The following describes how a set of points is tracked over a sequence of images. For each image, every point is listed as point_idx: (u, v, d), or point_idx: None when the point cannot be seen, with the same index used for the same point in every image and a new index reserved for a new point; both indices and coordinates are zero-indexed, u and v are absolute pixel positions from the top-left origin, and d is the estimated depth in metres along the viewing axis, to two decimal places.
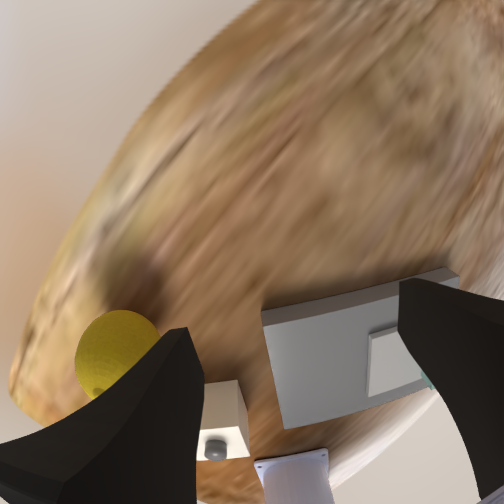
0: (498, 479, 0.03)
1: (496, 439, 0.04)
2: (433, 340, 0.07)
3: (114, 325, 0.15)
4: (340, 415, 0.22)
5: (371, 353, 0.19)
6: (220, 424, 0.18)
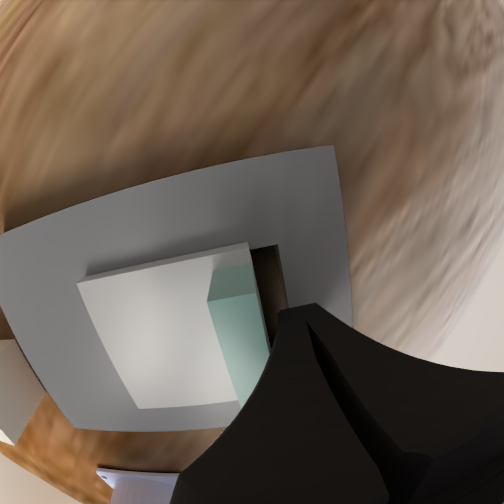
0: None
1: None
2: None
3: None
4: (144, 429, 0.12)
5: (91, 316, 0.09)
6: None
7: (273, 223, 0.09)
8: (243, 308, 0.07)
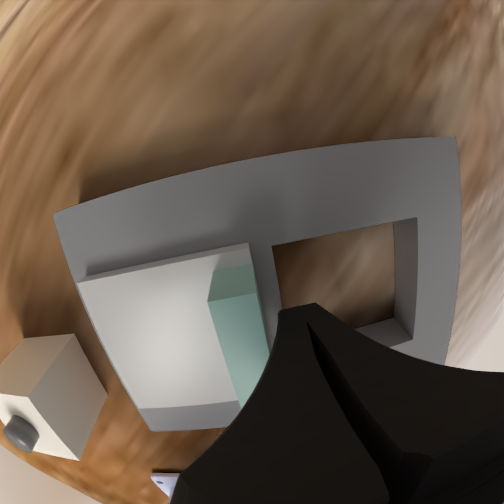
0: None
1: None
2: None
3: None
4: None
5: (92, 316, 0.09)
6: (14, 390, 0.08)
7: (415, 198, 0.09)
8: (243, 308, 0.07)
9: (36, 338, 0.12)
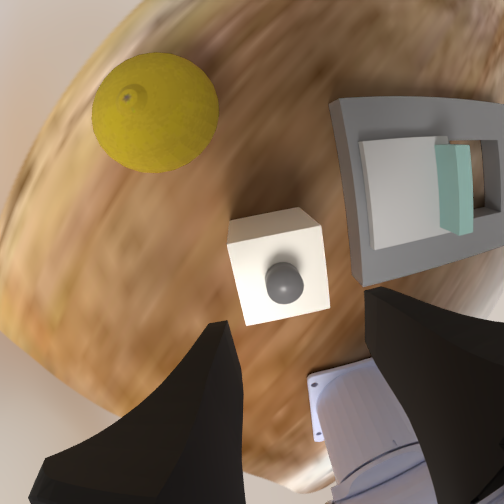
0: None
1: (453, 464, 0.04)
2: (395, 354, 0.07)
3: None
4: (427, 266, 0.17)
5: (366, 166, 0.14)
6: (293, 228, 0.13)
7: (496, 130, 0.14)
8: (465, 151, 0.12)
9: (251, 216, 0.18)
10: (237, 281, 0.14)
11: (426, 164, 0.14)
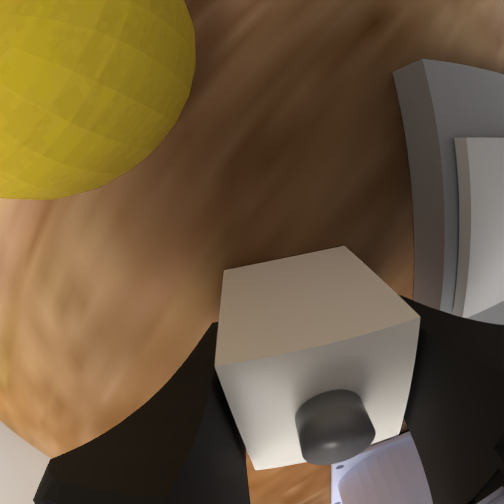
0: None
1: (449, 467, 0.04)
2: None
3: None
4: None
5: (469, 182, 0.07)
6: (362, 324, 0.06)
7: None
8: None
9: (263, 264, 0.10)
10: (239, 422, 0.06)
11: None
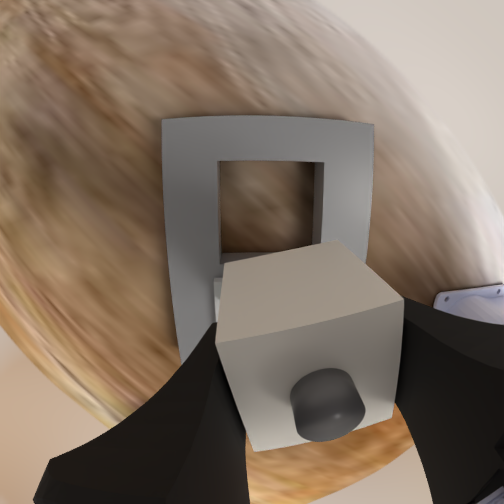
0: None
1: (449, 467, 0.04)
2: None
3: None
4: None
5: None
6: (350, 306, 0.06)
7: (203, 161, 0.14)
8: None
9: (261, 257, 0.11)
10: (238, 400, 0.07)
11: None
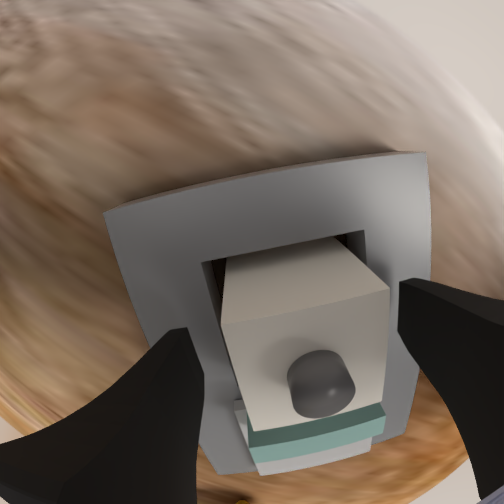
0: (498, 479, 0.03)
1: (495, 439, 0.04)
2: (433, 340, 0.07)
3: None
4: (414, 379, 0.12)
5: (284, 470, 0.13)
6: (341, 293, 0.07)
7: (180, 266, 0.09)
8: (260, 452, 0.09)
9: (261, 251, 0.11)
10: (240, 379, 0.07)
11: None
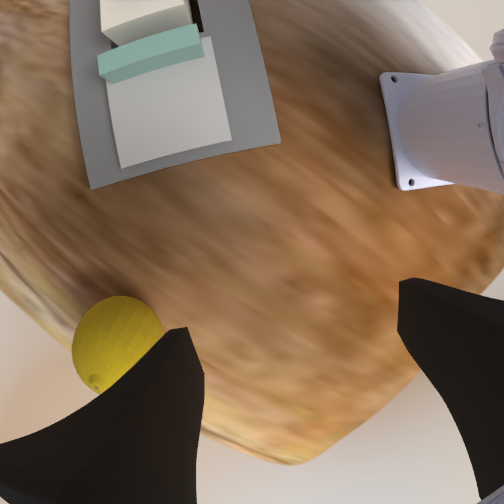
0: (498, 479, 0.03)
1: (495, 439, 0.04)
2: (433, 340, 0.07)
3: None
4: (259, 59, 0.13)
5: (143, 161, 0.14)
6: None
7: None
8: (104, 59, 0.11)
9: None
10: None
11: (135, 89, 0.13)
